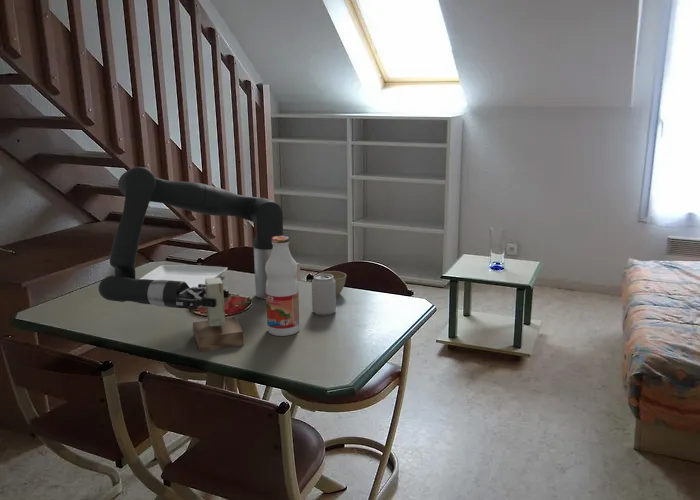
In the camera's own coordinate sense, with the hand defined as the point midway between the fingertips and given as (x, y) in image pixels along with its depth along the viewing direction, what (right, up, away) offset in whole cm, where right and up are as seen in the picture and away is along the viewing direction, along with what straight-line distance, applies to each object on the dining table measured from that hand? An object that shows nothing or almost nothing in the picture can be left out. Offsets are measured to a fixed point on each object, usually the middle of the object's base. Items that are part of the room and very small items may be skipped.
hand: (222, 298), depth 169 cm
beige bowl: (+29, -2, +41) cm, 51 cm away
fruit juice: (+16, -10, +10) cm, 22 cm away
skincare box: (-2, -7, +2) cm, 8 cm away
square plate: (-26, 0, +54) cm, 60 cm away
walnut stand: (-2, -12, +4) cm, 13 cm away
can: (+27, -7, +25) cm, 37 cm away
